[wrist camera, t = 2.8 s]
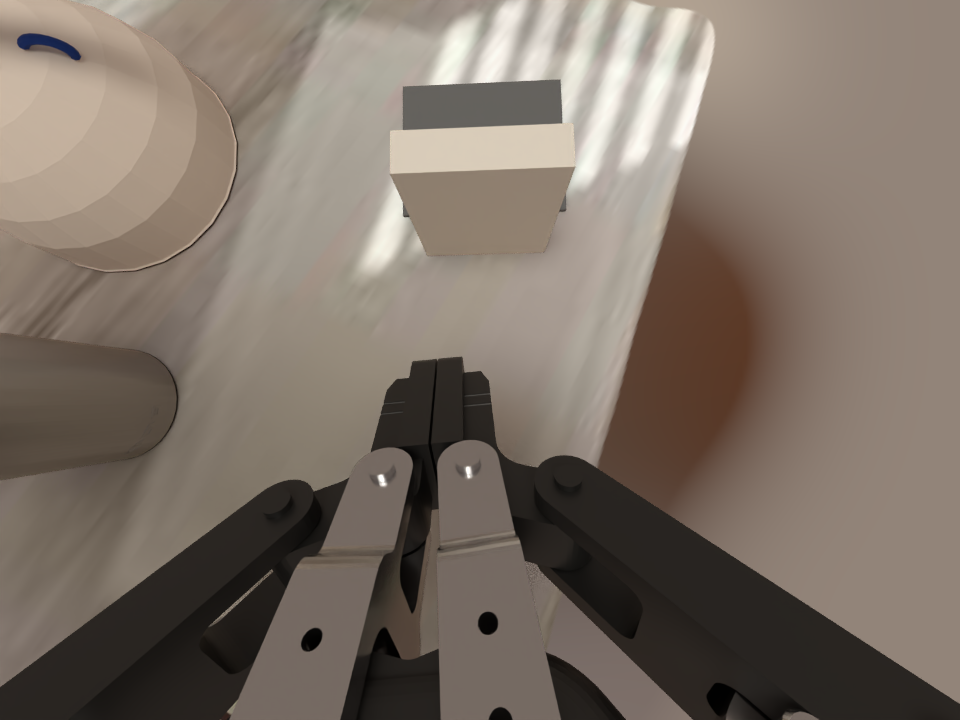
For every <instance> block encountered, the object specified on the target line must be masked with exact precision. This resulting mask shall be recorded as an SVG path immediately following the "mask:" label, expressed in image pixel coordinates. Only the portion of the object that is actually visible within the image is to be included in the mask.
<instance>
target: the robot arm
mask: <svg viewBox="0 0 960 720" xmlns="http://www.w3.org/2000/svg"><path fill="white" fill-rule="evenodd" d="M176 400H177V396H176V389H175V385H174V382H173V379H172V377H171V375H170V373H169V372H168V370H167V369H166V367H165V366H164V365H163V364H162V363H161V362H160V361H159V360H158V359H156V358H154V357H153V356H151V355H149V354H147V353H144V352H140V351H136V350H129V349H121V348H113V347H105V346H98V345H90V344H84V343H76V342H68V341H60V340H53V339H45V338H37V337H30V336H22V335H14V334H7V333H0V480H6V479H12V478H18V477H24V476H30V475H36V474H41V473H47V472H53V471H59V470H65V469H71V468H77V467H83V466H89V465H94V464H100V463H106V462H112V461H118V460H124V459H130V458H133V457H136V456H139V455H142V454H143V453H145V452H147V451H148V450H150V449H152V448H153V447H154V446H155V445H156V444H157V443H158V442H159V441H161V439H162V438H163V437H164V435H165V434H166V433H167V431H168V429H169V427H170V425H171V423H172V421H173V418H174V414H175V411H176ZM433 509H439V527H440V548H438V549H437V598H438V635H439V649H437V650H435V651H432V652H430V653H428V654H425V655H423V656H420V650H421V640H420V615H421V608H422V601H423V594H424V587H425V580H426V573H427V566H428V559H429V552H430V545H431V531H430V526H431V511H432V510H433ZM525 561H527V562H531V563H535V564H537V565H538V567H539V569H540V570H541V572H542V573H543V574H544V575H545V576H546V577H547V578H548V579H549V580H550V581H551V582H552V583H553V584H554V585H555V586H556V587H557V588H559V589H560V590H561V591H562V592H563V593H564V594H565V595H566V596H567V597H568V598H569V599H570V600H571V601H572V602H573V603H574V604H575V605H576V606H577V607H578V608H579V609H580V610H581V611H582V612H583V613H584V614H585V615H586V616H587V617H588V618H589V619H590V620H591V621H592V622H593V623H594V624H595V625H596V626H598V627H599V628H600V629H601V630H602V631H603V632H604V633H605V634H606V635H607V636H608V637H609V638H610V639H611V640H612V641H613V642H614V643H615V644H616V645H617V646H618V647H619V648H620V649H621V650H622V651H623V652H624V653H625V654H626V655H627V656H628V657H629V658H630V659H631V660H632V661H633V662H634V663H635V664H637V665H638V666H639V667H640V668H641V669H642V670H643V671H644V672H645V673H646V674H647V675H648V676H649V677H650V678H651V679H652V680H653V681H654V682H655V683H656V684H657V685H658V686H659V687H660V688H661V689H662V690H663V691H664V692H665V693H666V694H667V695H668V696H669V697H671V698H672V700H673V701H674V702H675V703H676V704H678V705H679V706H680V707H681V708H682V709H683V710H684V711H685V712H686V713H687V714H688V715H689V716H690V717H691V718H692V719H693V720H960V704H959V703H957V702H956V701H954V700H952V699H951V698H950V697H948V696H947V695H945V694H943V693H942V692H940V691H939V690H937V689H936V688H934V687H933V686H931V685H930V684H928V683H927V682H925V681H923V680H922V679H920V678H918V677H917V676H916V675H914V674H912V673H911V672H910V671H908V670H906V669H905V668H903V667H902V666H900V665H899V664H897V663H896V662H894V661H893V660H891V659H889V658H888V657H886V656H885V655H883V654H882V653H880V652H879V651H877V650H876V649H874V648H873V647H871V646H870V645H868V644H866V643H865V642H863V641H862V640H860V639H859V638H857V637H856V636H854V635H853V634H851V633H849V632H848V631H846V630H845V629H843V628H842V627H840V626H839V625H837V624H836V623H834V622H833V621H831V620H829V619H828V618H826V617H825V616H823V615H822V614H820V613H819V612H817V611H816V610H814V609H813V608H811V607H809V606H808V605H806V604H805V603H803V602H802V601H800V600H799V599H797V598H796V597H794V596H793V595H791V594H789V593H788V592H786V591H785V590H783V589H782V588H780V587H779V586H777V585H776V584H774V583H773V582H771V581H769V580H768V579H766V578H765V577H763V576H762V575H760V574H759V573H757V572H756V571H754V570H753V569H751V568H749V567H748V566H746V565H745V564H743V563H741V562H740V561H739V560H737V559H736V558H734V557H733V556H731V555H730V554H728V553H726V552H725V551H723V550H722V549H720V548H719V547H717V546H716V545H714V544H712V543H711V542H710V541H708V540H706V539H705V538H703V537H702V536H700V535H699V534H697V533H696V532H694V531H693V530H691V529H690V528H688V527H686V526H685V525H683V524H682V523H680V522H679V521H677V520H676V519H674V518H673V517H671V516H669V515H668V514H666V513H665V512H663V511H662V510H660V509H659V508H657V507H656V506H654V505H653V504H651V503H650V502H648V501H646V500H645V499H643V498H642V497H640V496H639V495H637V494H636V493H634V492H633V491H631V490H630V489H628V488H626V487H625V486H623V485H622V484H620V483H619V482H617V481H616V480H614V479H613V478H611V477H610V476H608V475H606V474H605V473H603V472H602V471H600V470H599V469H597V468H596V467H594V466H593V465H591V464H590V463H588V462H586V461H584V460H582V459H580V458H577V457H573V456H555V457H552V458H549V459H547V460H545V461H544V462H542V463H541V464H540V465H539V467H538V468H536V467H531V466H525V465H521V464H517V463H515V462H513V461H511V460H509V459H507V458H506V457H505V456H504V455H503V454H502V453H501V452H500V451H499V449H498V447H497V444H496V438H495V430H494V421H493V413H492V405H491V396H490V387H489V380H488V379H487V378H486V377H485V376H484V375H483V373H482V372H481V371H477V372H467V373H464V365H463V358H462V357H453V358H442V359H438V361H437V359H432V360H422V361H413V362H412V366H411V371H410V376H409V378H405V379H396V381H395V382H394V383H393V384H392V385H391V386H390V388H389V389H388V390H387V392H386V396H385V400H384V405H383V407H382V411H381V415H380V419H379V423H378V426H377V430H376V434H375V438H374V442H373V445H372V449H371V453H369V454H367V455H366V456H364V457H363V458H362V459H361V460H360V461H359V462H358V463H357V464H356V465H355V467H354V468H353V470H352V473H351V475H350V478H348V479H346V480H344V481H342V482H339V483H337V484H334V485H331V486H328V487H325V488H323V489H320V490H317V491H314V492H313V490H312V488H311V486H310V485H309V484H308V483H306V482H304V481H301V480H288V481H283V482H280V483H277V484H275V485H273V486H271V487H269V488H267V489H266V490H264V491H263V492H261V493H260V494H259V495H257V496H256V497H255V498H253V499H252V500H251V501H249V502H248V503H247V504H245V505H244V506H243V507H241V508H240V509H239V510H237V511H236V512H235V513H233V514H232V515H230V516H229V517H228V518H226V519H225V520H224V521H222V522H221V523H220V524H218V525H217V526H216V527H214V528H213V529H212V530H210V531H209V532H208V533H206V534H205V535H204V536H202V537H201V538H200V539H198V540H197V541H196V542H194V543H193V544H192V545H190V546H189V547H188V548H186V549H185V550H184V551H182V552H181V553H180V554H178V555H177V556H176V557H174V558H173V559H172V560H170V561H169V562H168V563H166V564H165V565H163V566H162V567H161V568H159V569H158V570H157V571H155V572H154V573H153V574H151V575H150V576H149V577H147V578H146V579H145V580H143V581H142V582H141V583H139V584H138V585H137V586H135V587H134V588H133V589H131V590H130V591H129V592H127V593H126V594H125V595H123V596H122V597H121V598H119V599H118V600H117V601H115V602H114V603H113V604H111V605H110V606H109V607H107V608H106V609H105V610H103V611H102V612H101V613H99V614H98V615H96V616H95V617H94V618H92V619H91V620H90V621H88V622H87V623H86V624H84V625H83V626H82V627H80V628H79V629H78V630H76V631H75V632H74V633H72V634H71V635H70V636H68V637H67V638H66V639H64V640H63V641H62V642H60V643H59V644H58V645H56V646H55V647H54V648H52V649H51V650H50V651H48V652H47V653H46V654H44V655H43V656H42V657H40V658H39V659H38V660H36V661H35V662H34V663H32V664H31V665H29V666H28V667H27V668H25V669H24V670H23V671H21V672H20V673H19V674H17V675H16V676H15V677H13V678H12V679H11V680H9V681H8V682H7V683H5V684H4V685H3V686H1V687H0V720H220V719H221V718H222V716H223V715H224V714H225V713H226V712H227V711H228V710H229V709H230V708H231V707H232V706H233V705H234V703H235V702H236V701H237V700H238V701H237V703H236V706H235V708H234V710H233V712H232V715H231V716H230V717H229V718H228V719H227V720H626V719H625V718H624V717H623V716H622V714H621V713H620V712H619V711H618V710H617V709H616V708H615V706H614V705H613V704H612V703H611V702H610V701H609V699H608V698H607V697H606V696H605V695H604V694H603V693H602V691H601V690H600V689H599V688H598V687H597V686H596V685H595V684H594V683H593V682H592V681H590V680H589V679H588V678H587V677H586V676H585V675H584V674H582V673H581V672H580V671H579V670H577V669H576V668H575V667H573V666H572V665H570V664H569V663H567V662H565V661H564V660H562V659H560V658H558V657H556V656H554V655H551V654H549V653H546V652H545V648H544V643H543V639H542V634H541V630H540V626H539V621H538V617H537V613H536V608H535V604H534V599H533V595H532V591H531V586H530V582H529V577H528V573H527V569H526V564H525ZM271 569H272V570H273V571H274V572H273V573H272V574H271V575H269V576H268V577H267V578H266V579H265V580H264V581H263V582H262V583H261V584H260V585H258V586H257V587H256V588H255V589H254V590H253V591H252V592H251V593H250V594H249V595H247V596H246V597H245V598H244V599H243V600H242V601H241V602H240V603H239V604H238V605H237V606H235V607H234V608H233V609H232V610H231V611H230V612H229V613H228V614H227V615H226V616H224V617H223V618H222V619H221V620H220V621H219V622H217V623H216V624H214V625H212V626H210V625H211V624H212V623H213V622H214V621H215V620H216V619H217V618H218V617H219V616H220V615H221V614H222V613H224V612H225V611H226V610H227V609H228V608H229V607H230V606H231V605H232V604H233V603H235V602H236V601H237V600H238V599H239V598H240V597H241V596H242V595H243V594H245V593H246V592H247V591H248V590H249V589H250V588H251V587H252V586H253V585H255V584H256V583H257V582H258V581H259V580H260V579H261V578H262V577H263V576H264V575H266V574H267V573H268V572H269V571H270V570H271ZM209 626H210V627H209Z"/></svg>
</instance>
